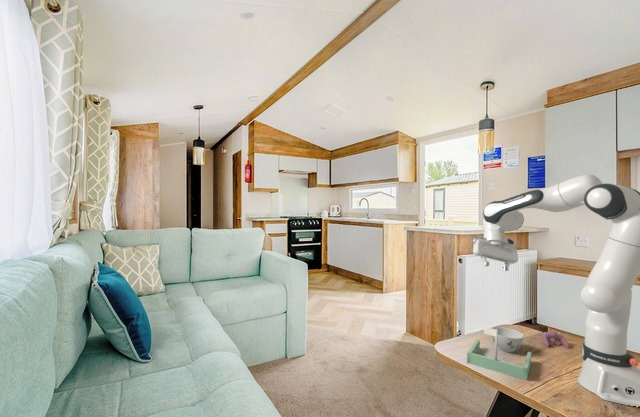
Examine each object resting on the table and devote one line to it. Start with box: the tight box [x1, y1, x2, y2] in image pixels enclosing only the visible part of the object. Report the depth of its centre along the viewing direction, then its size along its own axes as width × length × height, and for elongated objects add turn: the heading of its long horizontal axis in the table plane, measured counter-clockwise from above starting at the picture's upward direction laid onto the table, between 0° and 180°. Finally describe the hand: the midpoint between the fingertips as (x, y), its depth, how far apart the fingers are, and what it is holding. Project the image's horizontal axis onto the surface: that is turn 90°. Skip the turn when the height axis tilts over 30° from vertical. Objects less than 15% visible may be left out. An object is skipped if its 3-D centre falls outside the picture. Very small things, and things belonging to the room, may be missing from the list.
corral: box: [466, 326, 532, 381], centre depth 130 cm, size 20×17×16 cm
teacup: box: [490, 326, 525, 353], centre depth 143 cm, size 15×12×8 cm
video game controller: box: [540, 331, 569, 349], centre depth 147 cm, size 10×5×7 cm, turn 84°
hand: (496, 268), depth 145 cm, fingers open, 8 cm apart
